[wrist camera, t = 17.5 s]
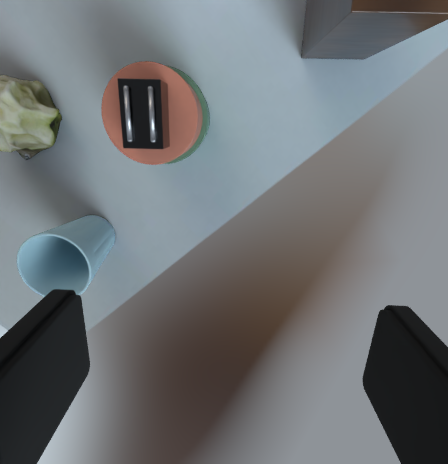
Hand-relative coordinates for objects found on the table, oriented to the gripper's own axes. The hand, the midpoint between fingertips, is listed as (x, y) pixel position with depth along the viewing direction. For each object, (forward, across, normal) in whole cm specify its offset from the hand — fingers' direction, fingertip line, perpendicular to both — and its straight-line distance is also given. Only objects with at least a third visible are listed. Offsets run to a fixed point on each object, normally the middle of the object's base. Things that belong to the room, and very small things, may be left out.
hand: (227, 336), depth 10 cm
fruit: (+31, +24, -6) cm, 40 cm away
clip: (+20, +7, -7) cm, 22 cm away
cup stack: (+31, +7, -7) cm, 32 cm away
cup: (+31, +18, +9) cm, 37 cm away
